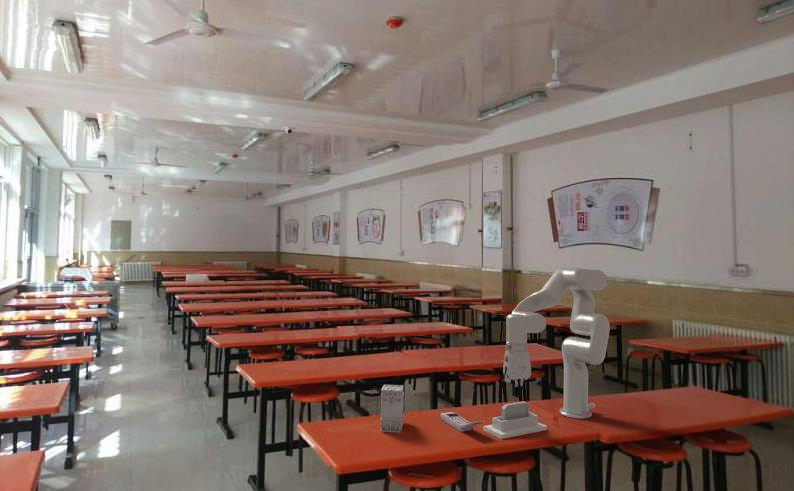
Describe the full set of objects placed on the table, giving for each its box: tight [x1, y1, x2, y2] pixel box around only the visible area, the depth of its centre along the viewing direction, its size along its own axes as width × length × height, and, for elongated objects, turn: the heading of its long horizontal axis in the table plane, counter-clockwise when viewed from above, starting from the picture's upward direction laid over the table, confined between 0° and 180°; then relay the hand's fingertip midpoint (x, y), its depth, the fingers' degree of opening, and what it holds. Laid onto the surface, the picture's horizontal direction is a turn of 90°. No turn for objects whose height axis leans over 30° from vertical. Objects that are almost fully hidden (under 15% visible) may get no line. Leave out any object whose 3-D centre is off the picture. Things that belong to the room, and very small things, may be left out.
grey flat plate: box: [501, 400, 530, 421], centre depth 188 cm, size 2×12×8 cm, turn 118°
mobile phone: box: [440, 411, 485, 433], centre depth 191 cm, size 6×6×25 cm
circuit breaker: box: [379, 384, 405, 434], centre depth 191 cm, size 8×14×15 cm, turn 174°
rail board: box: [482, 411, 548, 440], centre depth 188 cm, size 22×10×5 cm, turn 118°
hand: (516, 396), depth 189 cm, fingers closed
